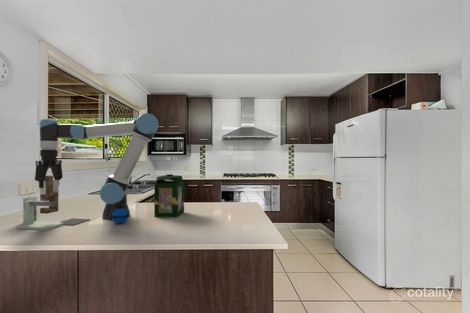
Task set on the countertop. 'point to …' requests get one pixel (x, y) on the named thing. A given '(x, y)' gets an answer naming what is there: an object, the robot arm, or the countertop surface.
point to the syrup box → (34, 198)
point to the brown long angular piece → (49, 196)
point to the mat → (74, 221)
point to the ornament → (119, 215)
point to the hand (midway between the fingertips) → (49, 193)
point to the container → (169, 196)
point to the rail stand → (30, 217)
